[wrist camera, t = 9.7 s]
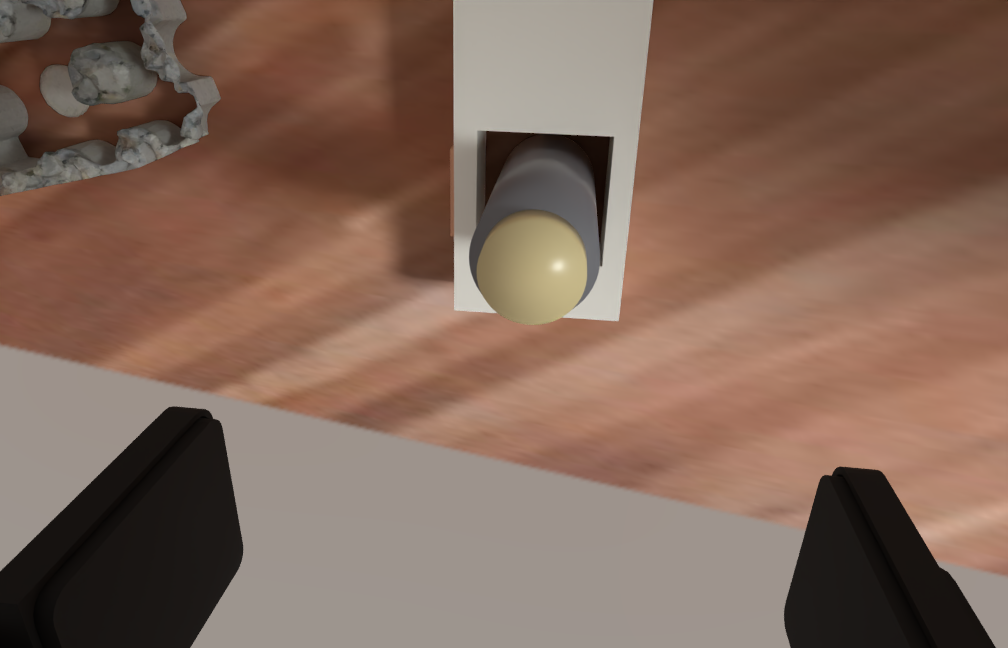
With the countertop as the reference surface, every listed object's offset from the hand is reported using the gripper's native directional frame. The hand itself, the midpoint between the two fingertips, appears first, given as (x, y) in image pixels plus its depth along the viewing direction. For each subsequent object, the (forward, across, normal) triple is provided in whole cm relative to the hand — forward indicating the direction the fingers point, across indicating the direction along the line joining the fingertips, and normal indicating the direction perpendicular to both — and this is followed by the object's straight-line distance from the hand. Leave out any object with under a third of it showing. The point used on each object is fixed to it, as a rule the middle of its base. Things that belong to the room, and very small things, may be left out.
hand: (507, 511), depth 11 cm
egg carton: (+22, +20, -3) cm, 30 cm away
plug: (+21, +1, 0) cm, 21 cm away
